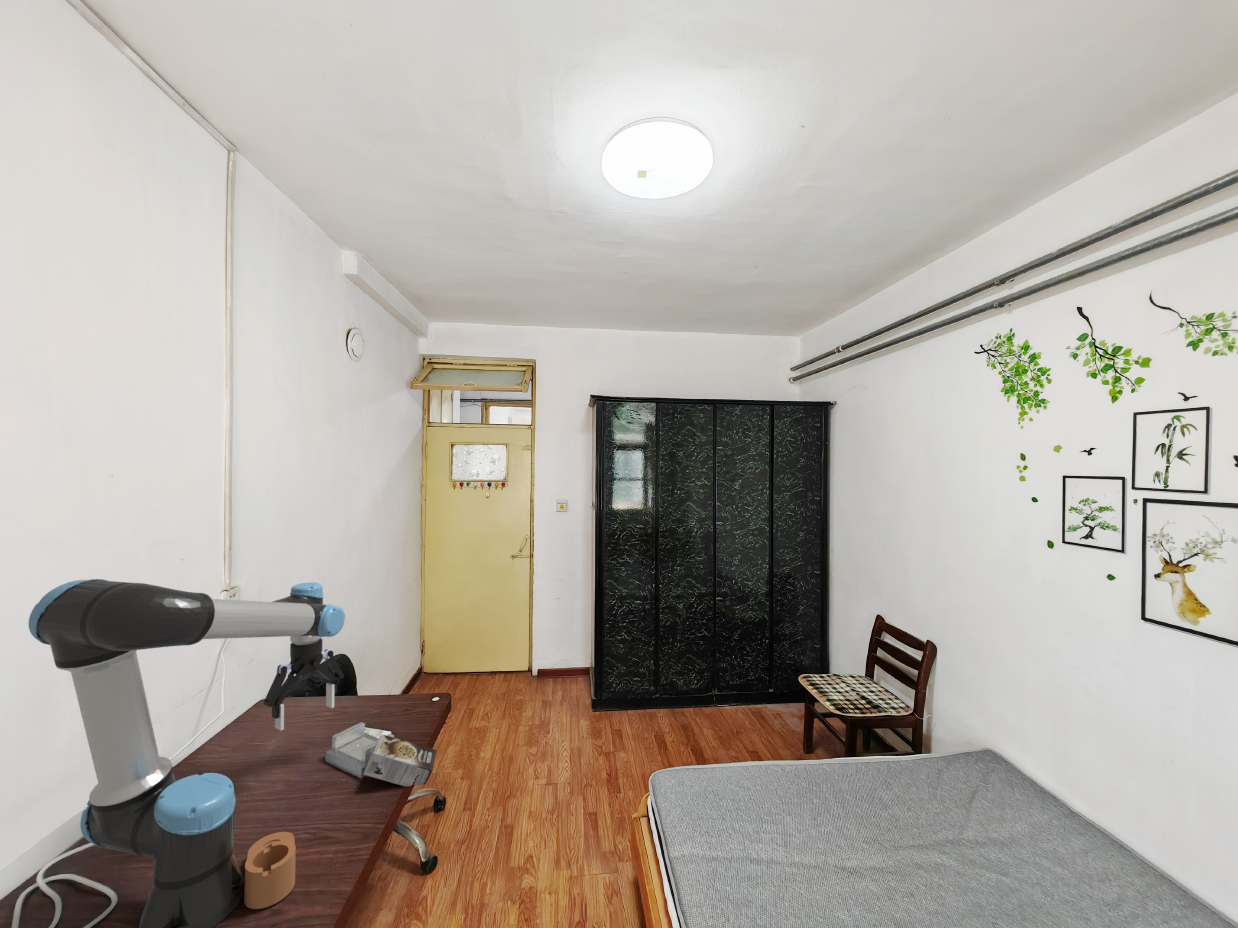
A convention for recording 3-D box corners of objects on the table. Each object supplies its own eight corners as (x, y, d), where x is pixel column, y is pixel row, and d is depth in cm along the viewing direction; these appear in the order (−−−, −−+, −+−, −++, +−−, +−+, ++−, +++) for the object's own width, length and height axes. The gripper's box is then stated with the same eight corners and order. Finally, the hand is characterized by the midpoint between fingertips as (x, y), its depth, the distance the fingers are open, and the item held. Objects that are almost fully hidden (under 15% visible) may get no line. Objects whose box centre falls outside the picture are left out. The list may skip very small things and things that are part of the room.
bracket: (295, 895, 98) (296, 860, 99) (242, 916, 94) (243, 879, 94) (293, 838, 113) (294, 808, 113) (248, 853, 109) (249, 822, 109)
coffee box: (381, 732, 138) (437, 748, 142) (370, 754, 138) (426, 769, 142) (373, 752, 129) (433, 769, 133) (362, 775, 129) (422, 792, 133)
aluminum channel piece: (361, 779, 135) (361, 753, 135) (325, 762, 142) (325, 737, 142) (399, 757, 145) (399, 733, 145) (364, 742, 153) (364, 719, 153)
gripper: (264, 658, 124) (263, 743, 125) (357, 629, 146) (356, 701, 146) (248, 652, 128) (247, 734, 128) (341, 624, 150) (341, 695, 150)
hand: (305, 717), depth 137 cm, fingers open, 13 cm apart
